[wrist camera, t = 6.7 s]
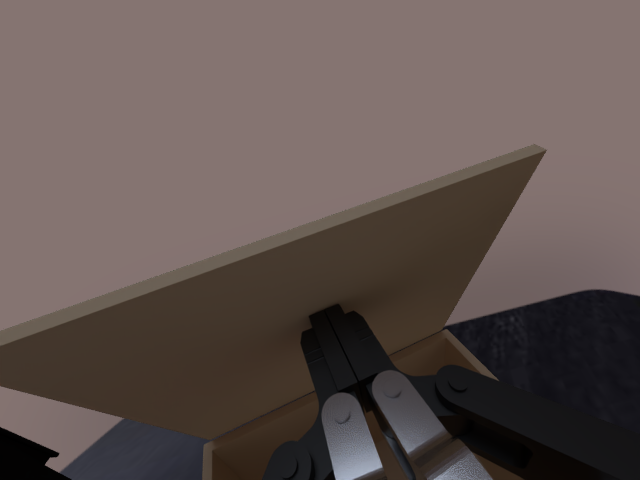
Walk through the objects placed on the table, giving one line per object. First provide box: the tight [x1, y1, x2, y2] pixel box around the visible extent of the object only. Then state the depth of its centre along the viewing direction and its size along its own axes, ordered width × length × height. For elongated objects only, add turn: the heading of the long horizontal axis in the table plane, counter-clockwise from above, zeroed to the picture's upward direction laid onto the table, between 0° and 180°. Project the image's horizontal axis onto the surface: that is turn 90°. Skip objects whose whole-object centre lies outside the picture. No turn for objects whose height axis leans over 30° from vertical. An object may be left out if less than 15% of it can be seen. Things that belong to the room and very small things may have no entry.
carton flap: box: [0, 144, 546, 440], centre depth 14 cm, size 16×19×1 cm
